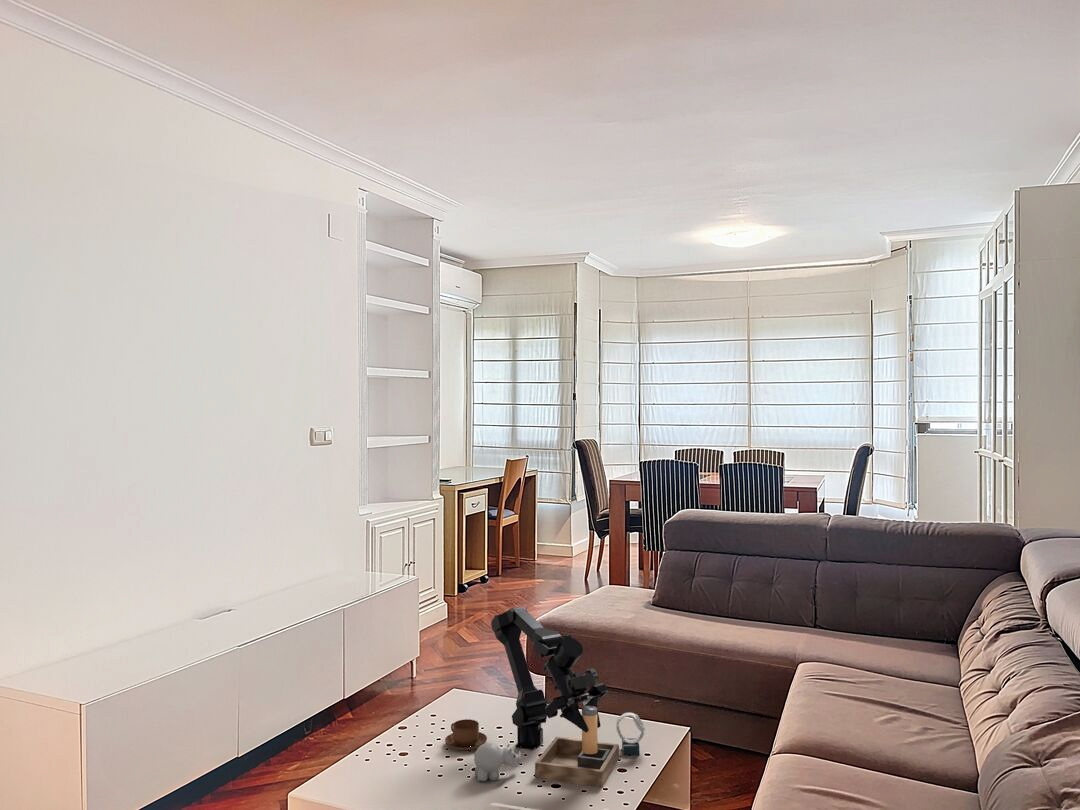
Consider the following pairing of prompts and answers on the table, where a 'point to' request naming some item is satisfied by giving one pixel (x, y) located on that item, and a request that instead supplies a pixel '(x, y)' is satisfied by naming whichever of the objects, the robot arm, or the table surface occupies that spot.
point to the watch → (631, 744)
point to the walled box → (576, 762)
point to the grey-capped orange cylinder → (590, 730)
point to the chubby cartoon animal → (493, 760)
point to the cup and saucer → (465, 735)
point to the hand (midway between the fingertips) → (593, 729)
